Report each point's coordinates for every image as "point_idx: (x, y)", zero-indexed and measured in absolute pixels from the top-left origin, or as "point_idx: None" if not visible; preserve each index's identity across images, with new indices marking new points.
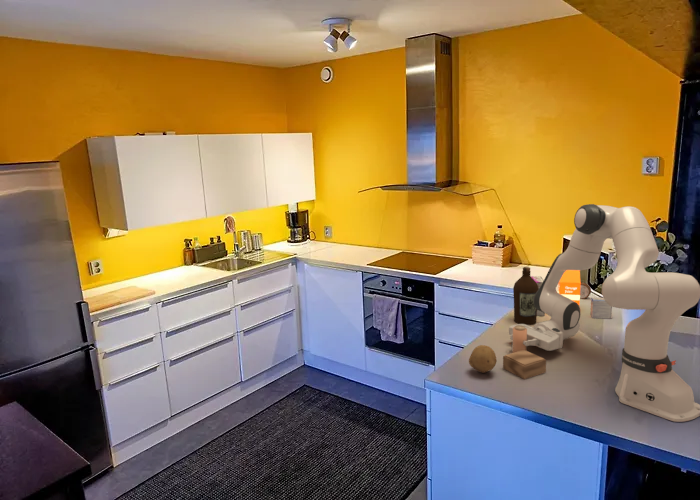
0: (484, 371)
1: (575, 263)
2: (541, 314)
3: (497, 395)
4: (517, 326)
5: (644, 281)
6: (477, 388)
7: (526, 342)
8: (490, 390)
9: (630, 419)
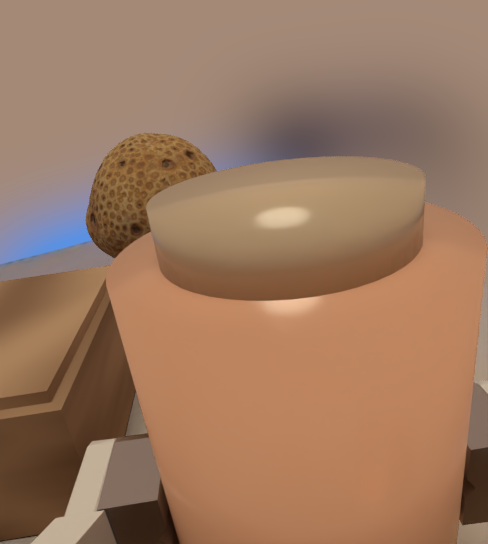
0: None
1: None
2: None
3: (9, 272)
4: (335, 169)
5: None
6: (96, 251)
7: (93, 454)
8: (50, 267)
9: None
